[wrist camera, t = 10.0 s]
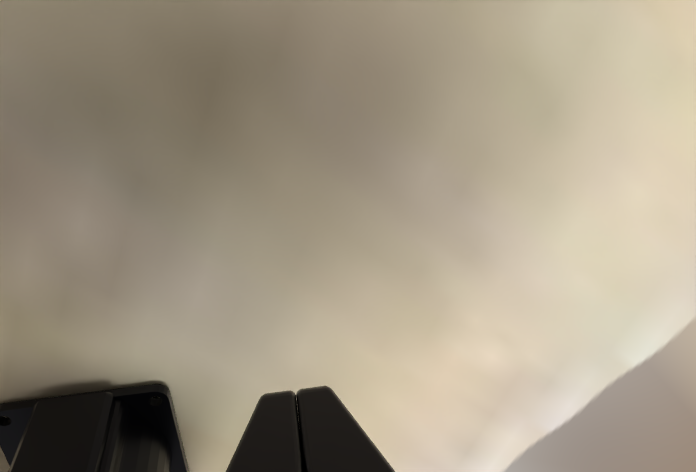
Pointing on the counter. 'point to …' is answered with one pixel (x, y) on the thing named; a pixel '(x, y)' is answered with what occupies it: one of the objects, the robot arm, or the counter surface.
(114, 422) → the robot arm
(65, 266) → the counter surface
